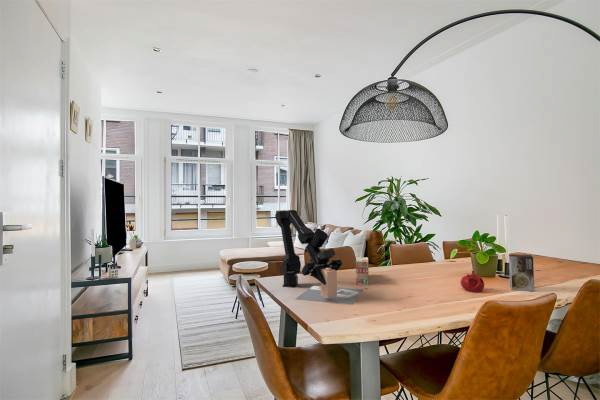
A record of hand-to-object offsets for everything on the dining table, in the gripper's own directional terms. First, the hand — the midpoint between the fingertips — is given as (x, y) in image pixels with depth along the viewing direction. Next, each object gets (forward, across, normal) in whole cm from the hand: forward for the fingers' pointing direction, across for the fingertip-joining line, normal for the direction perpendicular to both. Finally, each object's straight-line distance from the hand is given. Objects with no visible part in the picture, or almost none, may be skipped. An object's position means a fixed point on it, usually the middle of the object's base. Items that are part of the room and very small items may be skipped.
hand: (330, 283), depth 141 cm
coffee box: (+30, +87, -18) cm, 94 cm away
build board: (0, +6, +11) cm, 13 cm away
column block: (+3, 0, +5) cm, 6 cm away
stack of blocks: (-10, +38, +22) cm, 46 cm away
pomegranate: (+21, +66, -10) cm, 71 cm away
